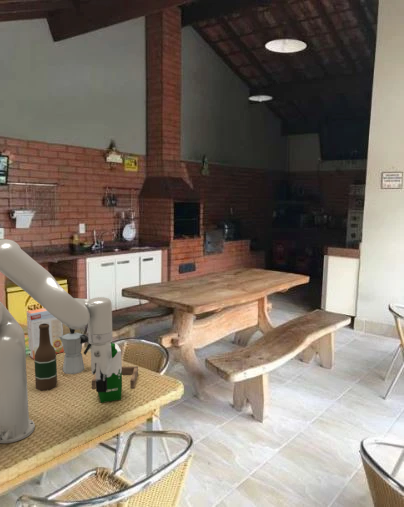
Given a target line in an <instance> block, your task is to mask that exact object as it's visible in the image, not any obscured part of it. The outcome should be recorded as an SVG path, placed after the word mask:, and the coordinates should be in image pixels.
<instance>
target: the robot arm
mask: <svg viewBox="0 0 404 507" xmlns="http://www.w3.org/2000/svg"><path fill="white" fill-rule="evenodd" d="M0 273H2V275H4V276H5V277H7V278H8V279H9V280H10V281H11V282H13V283H14V284H15V285H16V286H18V287H19V288H20V289H22V290H23V291H24V292H25V293H26V294H28V295H29V296H30V297H31V298H32V299H33V300H34V301H35V302H37V303H38V305H41V307H42V308H45V309H46V310H47V311H48V312H49V313H50V314H52V315H53V316H54V317H55V318H57V319H58V320H59V321H60V322H62V323H63V326H66V327H67V328H71V329H74V330H75V331H76V330H77V331H78V330H81V329H83V328H85V327H86V326H87V337H88V342H87V343H88V344H89V343H90V344H91V346H90V348H91V349H90V356H91V357H90V361H91V362H90V370H91V374H92V375H93V376H95V374H96V388H95V390H96V393H98V392H106V391H107V374H108V372H109V370H110V368H111V366H112V351H111V343H113V311H112V309H113V305H112V300H111V299H110V298H108V297H104V296H103V297H102V296H101V297H94V298H93V297H92V298H76V297H73V296H72V295H71V294H69V293H68V292H67V291H66V290H65V289H64V288H63V287H62V286H61V285H60V283H59V282H58V281H57V280H56V279H55V277H54V276H53V275H52V273H50V272H49V271H48V270H47V269H46V268H44V267H43V266H42V265H41V264H40V263H38V262H37V261H36V260H35V259H33V257H31V256H30V255H29V254H28V253H27V252H26V251H24V250H23V249H21V246H20V245H19V243H17V242H16V241H15V240H12V239H7V238H6V239H5V238H4V239H0ZM23 329H24V328H22V326H21V325H20V323H19V322H18V321H17V319H15V317H14V315H12V313H11V312H10V311H9V310H8V308H6V306H5V305H4V304H3V302H2V301H1V300H0V444H9V443H14V442H18V441H21V440H23V439H26V438H27V437H29V436H30V435H31V434H32V433H33V432H34V431H35V426H36V424H35V422H34V420H32V419H30V418H29V417H30V416H29V413H30V412H29V396H28V394H29V393H28V392H29V391H28V378H27V374H28V373H27V355H26V353H27V352H26V351H27V349H26V337H25V332H24V330H23Z"/></svg>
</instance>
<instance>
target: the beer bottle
mask: <svg viewBox="0 0 404 507" xmlns="http://www.w3.org/2000/svg"><path fill="white" fill-rule="evenodd" d="M39 329H40V338H39V347H38V349H37V351H36V353H35V359H34V376H35V377H34V378H35V379H34V380H35V389H36V390H38V391H40V392H43V391H50V390H53V389H55V388H56V387H57V384H58V368H57V354H56V351H55V349H54V347H53V346H52V345H51V342H50V336H49V324H40V325H39Z"/></svg>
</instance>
